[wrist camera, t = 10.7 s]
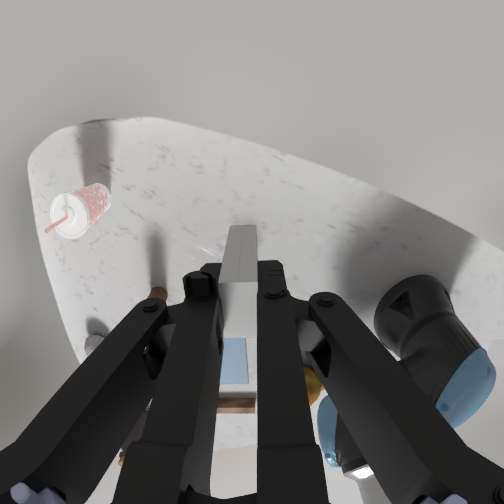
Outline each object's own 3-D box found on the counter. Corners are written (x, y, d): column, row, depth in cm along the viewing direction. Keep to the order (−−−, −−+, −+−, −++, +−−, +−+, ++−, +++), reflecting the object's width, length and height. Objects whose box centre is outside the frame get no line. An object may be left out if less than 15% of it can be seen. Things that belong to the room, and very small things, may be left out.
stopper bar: (254, 398, 58) (254, 407, 56) (255, 404, 59) (254, 413, 57) (178, 397, 59) (176, 405, 56) (180, 402, 59) (178, 411, 57)
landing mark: (244, 328, 51) (244, 329, 50) (248, 383, 56) (248, 384, 56) (163, 328, 51) (163, 329, 51) (178, 382, 56) (178, 382, 56)
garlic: (120, 349, 54) (111, 367, 49) (102, 355, 54) (92, 372, 50) (102, 326, 51) (91, 343, 47) (84, 332, 52) (73, 349, 47)
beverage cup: (111, 175, 40) (59, 200, 27) (119, 215, 43) (72, 253, 30) (78, 181, 40) (22, 208, 28) (86, 219, 43) (35, 257, 30)
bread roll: (332, 361, 54) (340, 392, 47) (315, 393, 58) (320, 423, 51) (265, 353, 53) (267, 386, 46) (254, 387, 57) (254, 419, 50)
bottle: (150, 410, 61) (136, 462, 47) (157, 423, 64) (145, 474, 50) (128, 407, 61) (111, 458, 48) (135, 421, 64) (121, 469, 50)
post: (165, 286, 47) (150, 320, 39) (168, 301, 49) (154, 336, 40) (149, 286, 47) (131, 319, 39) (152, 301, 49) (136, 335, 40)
